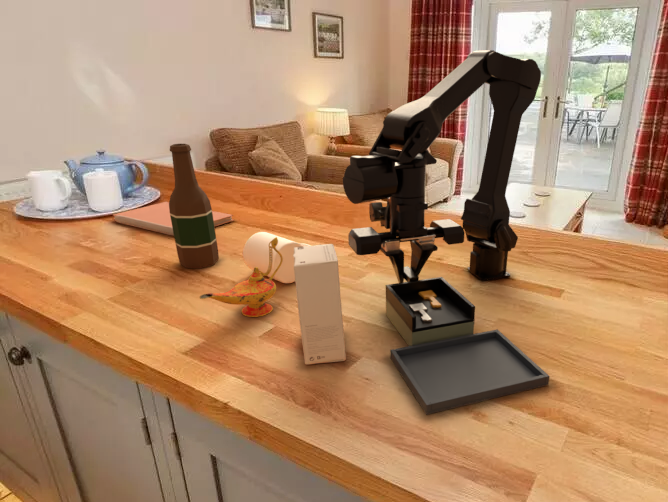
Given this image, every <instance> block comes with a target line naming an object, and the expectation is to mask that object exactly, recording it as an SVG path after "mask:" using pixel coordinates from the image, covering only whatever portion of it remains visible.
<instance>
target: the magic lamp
mask: <svg viewBox="0 0 668 502" xmlns="http://www.w3.org/2000/svg"><path fill="white" fill-rule="evenodd" d="M270 243H271V245H272V247H271V246H270ZM270 243H269V266H270V267H269V266H268V270H267V272H265V273H263V272H261V271H259V269H258V267H255V268H254V270H252V274H250V276H249V278H248V279H246V280H243V281H241V282H238V283H236V284H235V285H234V286H233V287H232V288H231V289H230V290H229V291H227V292H223V293H222V292H209V293H203V294H201V295H200V296H199V299H200V300H205V299H212V300H215V301H218V302H221V303H224V304H228V305H236V306H237V305H238V306H239V305H240V306H243V305H246V306H244V307H242V309H241V315H243V316H245V317H250V318H257V317H264V316H265V315H268V314H270V313H271V312H272V311H273V310H274V307H273V306H272V305H271V304H270V303H266V301H268V300H270V299H271V298H272V297H274V295H275V294H276V291H277V285H276V281H273V277H274V275H275V274H276V272H277V271H278V269H279V268H280V266H281V264H282V261H283V258H282V255H281V253H280V252H279V251H278V250H277V249H276V248H275V247H276V246H277V244H278V239H277V237H276V238H274V239H273V240H272V241H271V242H270ZM270 248H273V249H274V250H275V251H276V252H277V253H278V254H279V255H280V257H281V261H280V264H279V266H278V267H277V269H276V270H275V272H274V273H273V274H272V276H271V277H268V276H267V275H268V274H269V273H270V272H269V271H271V269H269V268H272V262H271V261H272V259H273V258H272V257H273V256H272V254H273V253H272V252H270V251H272V249H270ZM271 253H272V254H271ZM270 256H272V257H270ZM270 258H272V259H270ZM260 272H261V273H260ZM266 274H267V275H266ZM264 277H268V278H264Z"/></svg>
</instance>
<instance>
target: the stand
mask: <svg viewBox="0 0 668 502" xmlns="http://www.w3.org/2000/svg"><path fill="white" fill-rule="evenodd" d="M385 317H387V319H388V320H389V321H390V323H391V324H392V325H393V327H394V328H395V329H396V331H397V332H398V334H399V335H400V336H401V338H402V339H403V340H404V342H405V343H406V344H407V347H408V346H413V345H418V344H423V343H429V342H434V341H439V340H444V339H450V338H455V337H460V336H465V335H470V334H475V333H474V332H475V331H474V330H475V320H474V321H472V322H467V323H461V324H456V325H450V326H445V327H439V328H434V329H428V330H423V331H417V332H412V331H411V330H410V329H409V328H408V326H407V325H406V324H405V323H404V321H403V320H402V319H401V317H400V316H399V315H398V314H397V312H396V311H395V310H394V309H393V307H392V306H391V305H390V303H389V302H388V301H387V300H386V299H385Z"/></svg>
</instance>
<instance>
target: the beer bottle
mask: <svg viewBox="0 0 668 502" xmlns="http://www.w3.org/2000/svg"><path fill="white" fill-rule="evenodd" d="M191 151H192V148H191V145H190V144H187V143H174V144H170V145H169V152H170V153H171V157H172V165H173V177H174V188H173V190H172V191H171V194H170V196H169V200H168V202H169V210H170V217H171V222H172V227H173V233H174V234H173V235H174V236H173V237H174V243H175V248H176V254H177V258H178V261H179V264H180V265H181V266H182V267H184V268H185V269H202V268H206V267H211V266H214V265H215V264H216V263H217V262H218V261H219V259H220V256H219V246H218V241H217V234H216V228H215V227H216V226H215V227H214V221H213V214H212V211H213V209H212V204H211V200H210V199H209V197H208V195H207V194H206V192H205V191H204V189H202V188H201V187H200V185H199V183H198V180H197V176H196V171H195V168H194V163H193V158H192V154H191Z"/></svg>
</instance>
